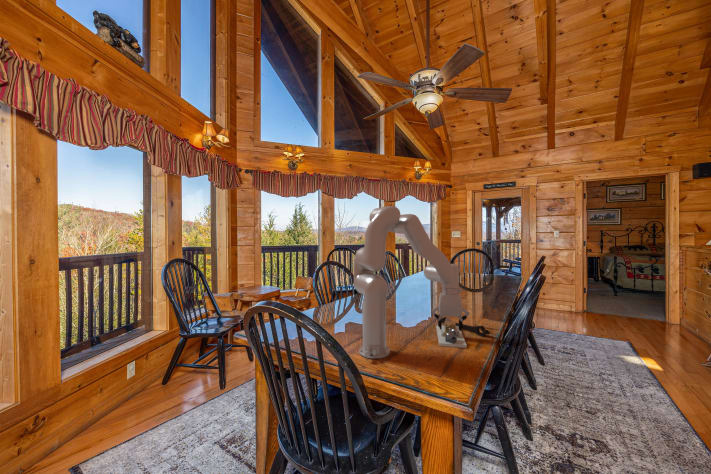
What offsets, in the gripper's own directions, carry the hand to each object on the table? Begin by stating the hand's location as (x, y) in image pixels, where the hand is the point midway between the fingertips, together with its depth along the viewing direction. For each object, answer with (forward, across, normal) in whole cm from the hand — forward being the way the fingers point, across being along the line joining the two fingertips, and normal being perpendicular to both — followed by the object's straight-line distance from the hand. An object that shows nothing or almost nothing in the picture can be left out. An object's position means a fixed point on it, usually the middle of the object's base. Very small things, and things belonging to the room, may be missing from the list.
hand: (450, 328), depth 132 cm
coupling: (+3, 0, 0) cm, 3 cm away
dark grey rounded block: (+3, 0, +8) cm, 9 cm away
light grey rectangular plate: (+4, 0, -1) cm, 4 cm away
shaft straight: (+3, 0, -9) cm, 9 cm away
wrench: (+5, -8, -14) cm, 17 cm away
